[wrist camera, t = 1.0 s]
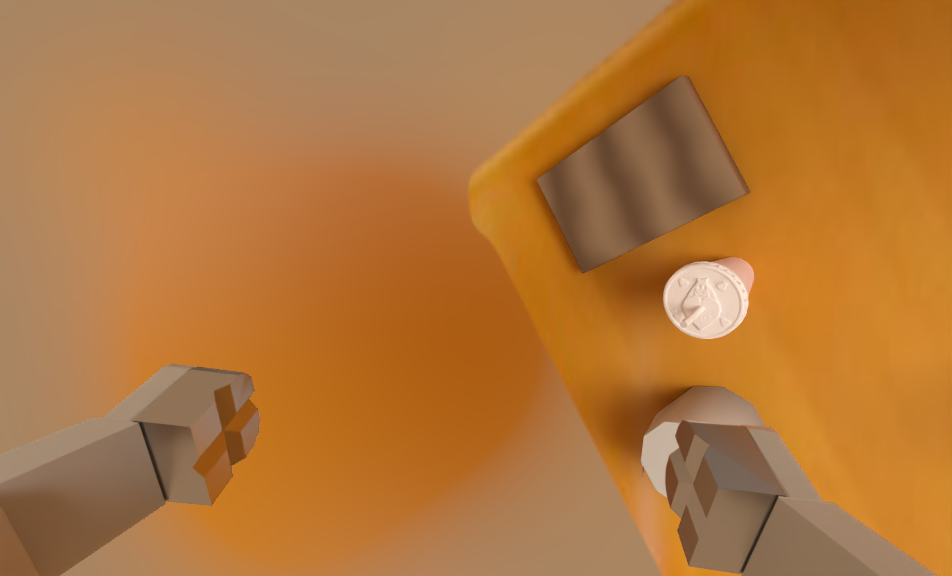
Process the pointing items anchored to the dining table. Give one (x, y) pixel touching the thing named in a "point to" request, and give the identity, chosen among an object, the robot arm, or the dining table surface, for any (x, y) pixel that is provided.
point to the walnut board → (642, 177)
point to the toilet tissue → (695, 407)
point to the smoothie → (709, 297)
